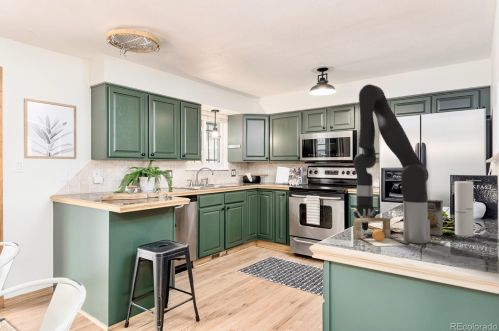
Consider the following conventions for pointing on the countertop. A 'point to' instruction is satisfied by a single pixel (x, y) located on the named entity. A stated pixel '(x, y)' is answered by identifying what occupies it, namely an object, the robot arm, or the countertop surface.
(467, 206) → the cylindrical container
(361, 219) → the bridge
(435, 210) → the coffee box
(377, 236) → the ball
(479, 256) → the countertop surface
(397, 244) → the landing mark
